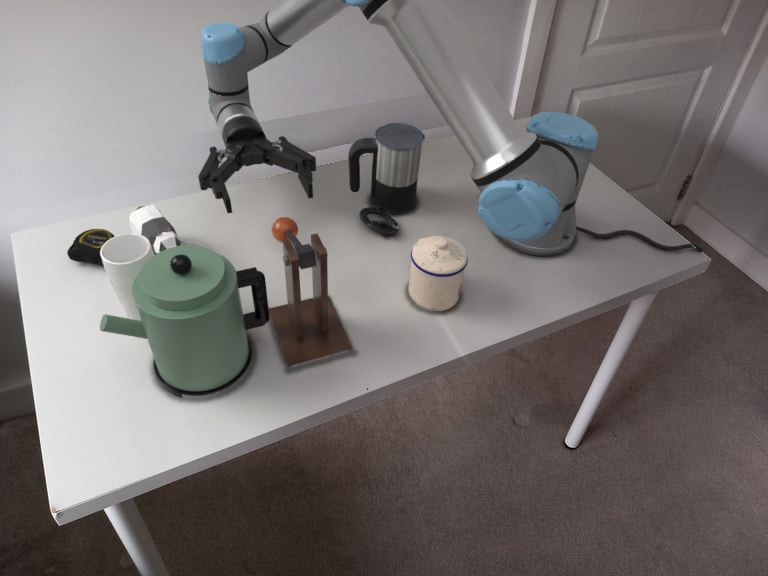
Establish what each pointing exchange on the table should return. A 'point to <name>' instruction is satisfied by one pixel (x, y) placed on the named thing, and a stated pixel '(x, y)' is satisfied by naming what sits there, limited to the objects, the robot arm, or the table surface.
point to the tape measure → (89, 246)
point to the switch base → (307, 312)
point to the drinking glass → (125, 266)
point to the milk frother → (388, 173)
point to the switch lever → (294, 241)
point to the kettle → (194, 318)
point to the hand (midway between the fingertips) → (270, 198)
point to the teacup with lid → (437, 272)
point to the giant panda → (154, 228)
